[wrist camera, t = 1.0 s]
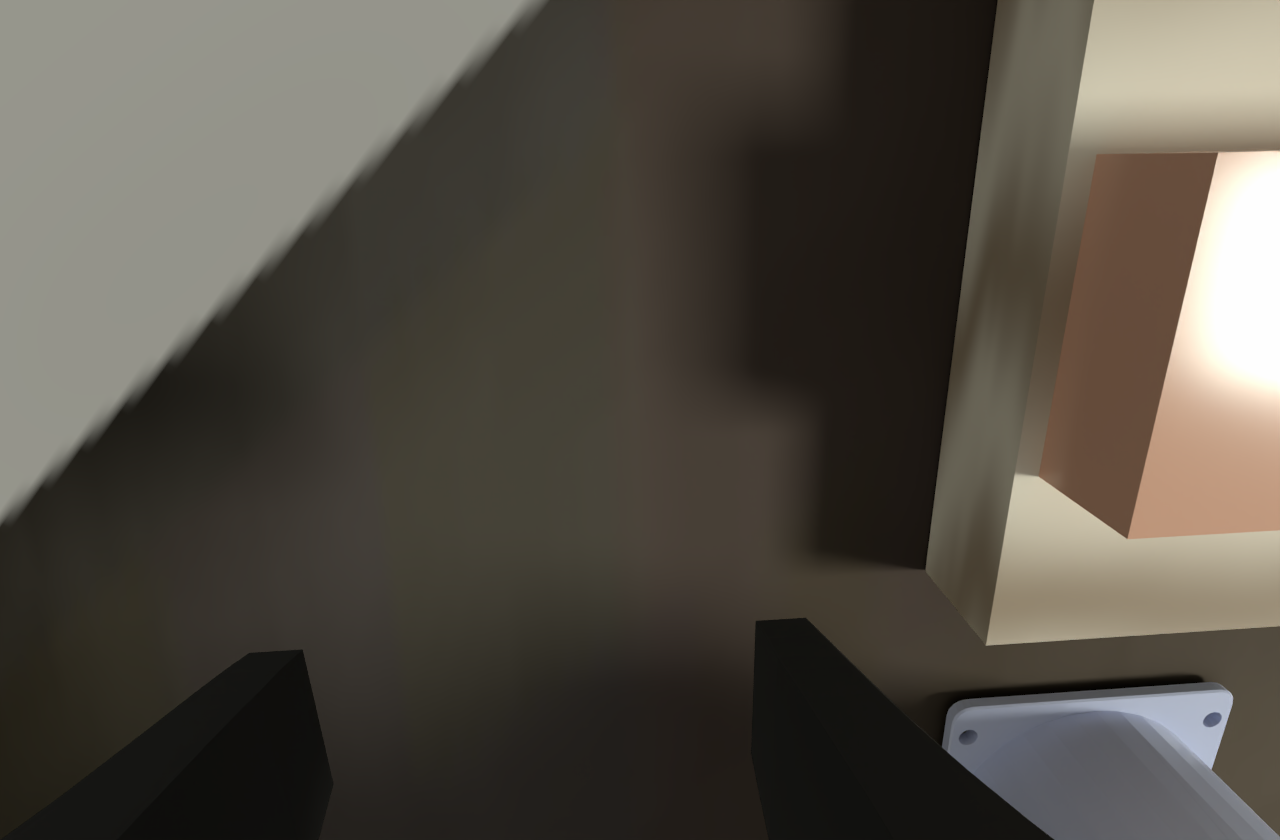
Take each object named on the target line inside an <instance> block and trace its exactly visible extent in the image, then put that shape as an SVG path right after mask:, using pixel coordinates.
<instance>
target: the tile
mask: <svg viewBox="0 0 1280 840" xmlns="http://www.w3.org/2000/svg"><path fill="white" fill-rule="evenodd" d="M1039 477H1040V478H1041V479H1043V480H1044V481H1045V482H1047V483H1048V484H1050V485H1051V486H1053V487H1054V488H1055V489H1057V490H1058V491H1060V492H1061V493H1062V494H1064V495H1065V496H1067V497H1068V498H1070V499H1071V500H1072V501H1074V502H1075V503H1077V504H1078V505H1079V506H1081V507H1082V508H1084V509H1085V510H1087V511H1088V512H1089V513H1091V514H1092V515H1094V516H1095V517H1096V518H1098V519H1099V520H1101V521H1102V522H1104V523H1105V524H1106V525H1108V526H1109V527H1111V528H1112V529H1113V530H1115V531H1116V532H1118V533H1119V534H1121V535H1122V536H1123V537H1125V538H1126V539H1141V538H1158V537H1175V536H1192V535H1209V534H1226V533H1243V532H1260V531H1277V530H1280V149H1254V150H1221V151H1187V152H1153V153H1120V154H1097V155H1096V161H1095V166H1094V172H1093V177H1092V183H1091V189H1090V194H1089V200H1088V205H1087V211H1086V216H1085V222H1084V227H1083V233H1082V238H1081V244H1080V249H1079V255H1078V261H1077V266H1076V272H1075V277H1074V283H1073V288H1072V294H1071V299H1070V305H1069V310H1068V316H1067V321H1066V327H1065V333H1064V338H1063V344H1062V349H1061V355H1060V360H1059V366H1058V371H1057V377H1056V382H1055V388H1054V393H1053V399H1052V405H1051V410H1050V416H1049V421H1048V427H1047V432H1046V438H1045V443H1044V449H1043V454H1042V460H1041V465H1040V471H1039Z"/></svg>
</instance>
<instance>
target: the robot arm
mask: <svg viewBox="0 0 1280 840" xmlns="http://www.w3.org/2000/svg"><path fill="white" fill-rule="evenodd" d="M1232 703H1233V696H1232V694H1231V693H1230V692H1229V691H1228V690H1227V689H1225V688H1224V687H1223V686H1222V685H1220V684H1219V683H1215V682H1205V683H1190V684H1176V685H1162V686H1148V687H1133V688H1119V689H1105V690H1090V691H1076V692H1062V693H1047V694H1033V695H1019V696H1005V697H990V698H976V699H965V700H960V701H958V702H956V703H954V704H953V705H952V706H951V707H950V709H949V710H948V713H947V716H946V723H945V729H944V736H943V743H942V747H941V746H940V745H939V744H938V743H937V742H936V741H935V740H933V739H932V738H931V737H930V736H929V735H928V734H927V733H926V732H925V731H924V730H922V729H921V728H920V727H919V726H918V725H917V724H916V723H915V722H914V721H912V720H911V719H910V718H909V717H908V716H907V715H906V714H905V713H904V712H903V711H901V710H900V709H899V708H898V707H897V706H896V705H895V704H894V703H893V702H892V701H891V700H890V699H889V698H888V697H887V696H886V695H885V694H883V693H882V692H881V691H880V690H879V689H878V688H877V687H876V686H875V685H874V684H873V683H872V682H871V681H870V680H869V679H868V678H867V677H866V676H865V675H864V674H863V673H862V672H861V671H860V670H859V669H858V668H857V667H856V666H855V665H854V664H853V663H851V662H850V661H849V660H848V659H847V658H846V657H845V656H844V655H843V654H842V653H841V652H840V651H839V650H838V649H837V648H836V647H835V646H834V645H833V644H832V643H831V642H830V641H829V640H828V639H827V638H826V637H825V636H824V635H823V634H822V633H821V632H820V631H819V630H818V629H817V628H816V627H815V626H814V625H813V624H812V623H810V622H809V621H808V620H807V619H806V618H796V619H780V620H764V621H756V630H755V659H754V689H753V719H752V748H751V754H752V759H753V764H754V769H755V774H756V779H757V785H758V790H759V795H760V800H761V804H762V809H763V814H764V818H765V823H766V828H767V832H768V837H769V840H1280V837H1279V836H1278V835H1277V834H1276V833H1275V832H1274V831H1273V830H1272V829H1271V828H1270V827H1269V826H1268V825H1267V824H1266V823H1265V822H1264V821H1263V820H1262V819H1261V818H1260V817H1259V816H1258V815H1257V814H1256V813H1255V812H1254V811H1253V810H1252V809H1251V808H1250V807H1249V806H1248V805H1247V804H1246V803H1245V802H1244V801H1243V800H1242V799H1241V798H1240V797H1239V796H1237V795H1236V794H1235V793H1234V792H1233V791H1232V790H1231V789H1230V788H1229V787H1228V786H1227V785H1226V784H1225V783H1224V782H1223V781H1222V780H1221V779H1220V778H1219V777H1218V776H1217V775H1216V774H1215V773H1214V772H1213V771H1212V770H1211V769H1212V766H1213V763H1214V760H1215V757H1216V754H1217V751H1218V747H1219V744H1220V741H1221V738H1222V735H1223V732H1224V729H1225V726H1226V723H1227V719H1228V716H1229V713H1230V710H1231V707H1232ZM967 730H968V731H967ZM964 731H967V732H965V733H963V732H964ZM962 733H963V734H962ZM332 787H333V780H332V776H331V772H330V767H329V763H328V758H327V754H326V750H325V745H324V741H323V737H322V732H321V728H320V724H319V719H318V715H317V710H316V706H315V702H314V697H313V693H312V689H311V684H310V680H309V676H308V671H307V667H306V662H305V658H304V654H303V650H289V651H274V652H258V653H249V654H247V655H246V656H244V657H243V658H242V659H240V660H239V661H237V662H236V663H234V664H233V665H231V666H230V667H229V668H227V669H226V670H225V671H223V672H222V673H220V674H219V675H218V676H216V677H215V678H214V679H212V680H211V681H210V682H208V683H207V684H206V685H205V686H203V687H202V688H201V689H199V690H198V691H197V692H195V693H194V694H193V695H191V696H190V697H189V698H188V699H186V700H185V701H184V702H182V703H181V704H180V705H179V706H177V707H176V708H175V709H173V710H172V711H171V712H170V713H168V714H167V715H166V716H164V717H163V718H162V719H161V720H159V721H158V722H157V723H155V724H154V725H153V726H152V727H150V728H149V729H148V730H146V731H145V732H144V733H143V734H141V735H140V736H139V737H137V738H136V739H135V740H133V741H132V742H131V743H130V744H128V745H127V746H126V747H124V748H123V749H122V750H120V751H119V752H118V753H116V754H115V755H114V756H113V757H111V758H110V759H109V760H107V761H106V762H105V763H103V764H102V765H101V766H100V767H98V768H97V769H96V770H94V771H93V772H92V773H90V774H89V775H88V776H87V777H85V778H84V779H83V780H81V781H80V782H79V783H77V784H76V785H75V786H73V787H72V788H71V789H70V790H68V791H67V792H66V793H64V794H63V795H62V796H60V797H59V798H58V799H56V800H55V801H54V802H52V803H51V804H49V805H48V806H47V807H45V808H44V809H42V810H41V811H40V812H38V813H37V814H36V815H34V816H33V817H31V818H30V819H29V820H27V821H26V822H24V823H23V824H22V825H20V826H19V827H18V828H16V829H15V830H13V831H12V832H11V833H9V834H8V835H7V836H5V837H4V838H2V839H1V840H318V838H319V835H320V832H321V828H322V824H323V820H324V817H325V813H326V809H327V806H328V802H329V798H330V795H331V791H332Z"/></svg>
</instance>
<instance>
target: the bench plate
mask: <svg viewBox="0 0 1280 840" xmlns="http://www.w3.org/2000/svg"><path fill="white" fill-rule="evenodd" d="M1254 149H1280V0H998V2H997V10H996V18H995V26H994V34H993V42H992V49H991V57H990V65H989V73H988V81H987V89H986V97H985V105H984V112H983V120H982V128H981V136H980V144H979V152H978V160H977V168H976V175H975V183H974V191H973V199H972V207H971V215H970V223H969V231H968V238H967V246H966V254H965V262H964V270H963V278H962V286H961V294H960V301H959V309H958V317H957V325H956V333H955V341H954V349H953V356H952V364H951V372H950V380H949V388H948V396H947V404H946V412H945V419H944V427H943V435H942V443H941V451H940V459H939V467H938V475H937V482H936V490H935V498H934V506H933V514H932V522H931V530H930V538H929V545H928V553H927V561H926V569H925V571H926V573H927V574H928V575H929V576H930V577H931V579H932V580H933V581H934V582H935V584H936V585H937V586H938V587H939V588H940V590H941V591H942V592H943V593H944V595H945V596H946V597H947V598H948V600H949V601H950V602H951V603H952V604H953V606H954V607H955V608H956V609H957V611H958V612H959V613H960V614H961V615H962V617H963V618H964V619H965V620H966V622H967V623H968V624H969V625H970V626H971V628H972V629H973V630H974V631H975V633H976V634H977V635H978V636H979V638H980V639H981V640H982V641H983V642H984V644H985V645H1000V644H1016V643H1031V642H1046V641H1061V640H1076V639H1091V638H1106V637H1122V636H1137V635H1152V634H1167V633H1182V632H1197V631H1212V630H1228V629H1243V628H1258V627H1273V626H1280V530H1277V531H1260V532H1243V533H1226V534H1209V535H1192V536H1175V537H1158V538H1141V539H1126V538H1125V537H1123V536H1122V535H1121V534H1119V533H1118V532H1116V531H1115V530H1113V529H1112V528H1111V527H1109V526H1108V525H1106V524H1105V523H1104V522H1102V521H1101V520H1099V519H1098V518H1096V517H1095V516H1094V515H1092V514H1091V513H1089V512H1088V511H1087V510H1085V509H1084V508H1082V507H1081V506H1079V505H1078V504H1077V503H1075V502H1074V501H1072V500H1071V499H1070V498H1068V497H1067V496H1065V495H1064V494H1062V493H1061V492H1060V491H1058V490H1057V489H1055V488H1054V487H1053V486H1051V485H1050V484H1048V483H1047V482H1045V481H1044V480H1043V479H1041V478H1040V477H1039V471H1040V465H1041V460H1042V454H1043V449H1044V443H1045V438H1046V432H1047V427H1048V421H1049V416H1050V410H1051V405H1052V399H1053V393H1054V388H1055V382H1056V377H1057V371H1058V366H1059V360H1060V355H1061V349H1062V344H1063V338H1064V333H1065V327H1066V321H1067V316H1068V310H1069V305H1070V299H1071V294H1072V288H1073V283H1074V277H1075V272H1076V266H1077V261H1078V255H1079V249H1080V244H1081V238H1082V233H1083V227H1084V222H1085V216H1086V211H1087V205H1088V200H1089V194H1090V189H1091V183H1092V177H1093V172H1094V166H1095V161H1096V155H1097V154H1120V153H1153V152H1187V151H1221V150H1254Z"/></svg>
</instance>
